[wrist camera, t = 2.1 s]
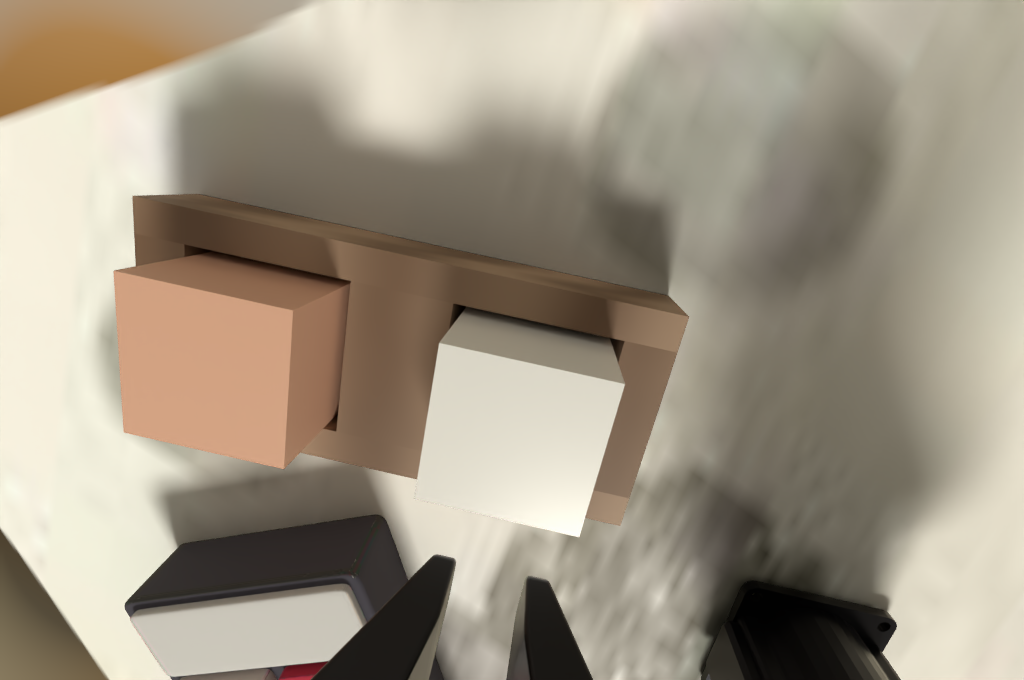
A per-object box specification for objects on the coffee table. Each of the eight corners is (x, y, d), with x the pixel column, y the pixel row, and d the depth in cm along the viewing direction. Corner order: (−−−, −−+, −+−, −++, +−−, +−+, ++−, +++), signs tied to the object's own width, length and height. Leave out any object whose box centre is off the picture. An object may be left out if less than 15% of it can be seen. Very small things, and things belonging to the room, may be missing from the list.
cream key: (609, 338, 17) (625, 383, 13) (574, 463, 18) (579, 537, 14) (466, 306, 17) (438, 342, 13) (444, 433, 18) (413, 499, 14)
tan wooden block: (353, 281, 17) (293, 310, 13) (340, 410, 18) (283, 469, 15) (213, 251, 17) (113, 270, 13) (213, 381, 18) (123, 432, 15)
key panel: (668, 295, 18) (689, 316, 15) (611, 478, 20) (620, 525, 18) (198, 194, 18) (132, 195, 16) (199, 384, 21) (143, 416, 18)
